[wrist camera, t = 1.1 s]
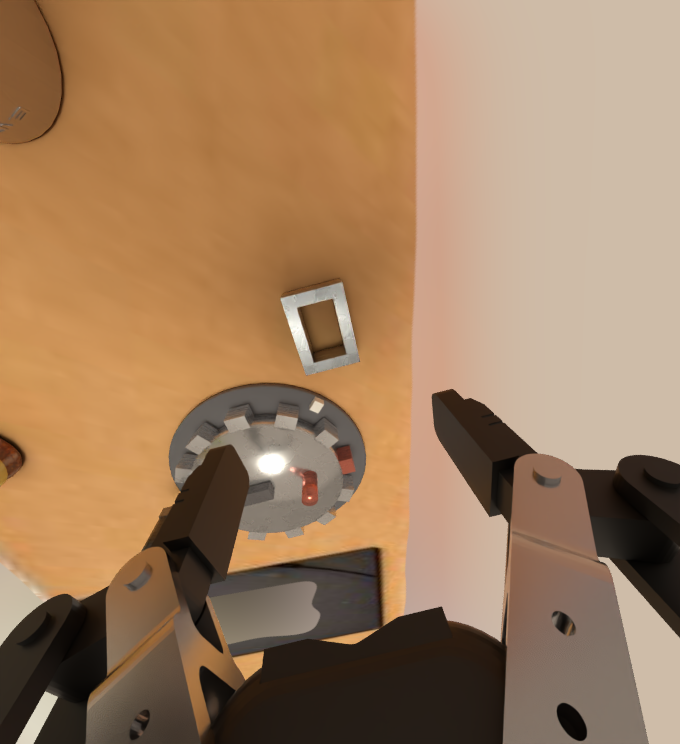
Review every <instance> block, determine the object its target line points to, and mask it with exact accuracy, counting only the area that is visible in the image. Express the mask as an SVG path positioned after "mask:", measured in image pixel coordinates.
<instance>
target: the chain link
mask: <svg viewBox="0 0 680 744" xmlns="http://www.w3.org/2000/svg"><path fill="white" fill-rule="evenodd" d="M328 299H332V300H333V304H334V308H335V312H336V316H337V320H338V324H339V328H340V332H341V336H342V340H343V344H344V345H340V346H336V347H332V348H328V349H325V350H321V351H317V352H313V349H312V346H311V343H310V339H309V336H308V333H307V330H306V326H305V323H304V320H303V317H302V313H301V310H300V307H302V306H305V305H309V304H313V303H317V302H321V301H324V300H328ZM280 300H281V302H282V305H283V308H284V311H285V314H286V317H287V320H288V323H289V326H290V329H291V332H292V335H293V338H294V341H295V344H296V347H297V350H298V353H299V356H300V359H301V362H302V365H303V368H304V371H305V374H306V375H310V374H314V373H318V372H322V371H326V370H329V369H333V368H337V367H341V366H345V365H349V364H353V363H356V362H360V359H359V355H358V350H357V346H356V341H355V337H354V332H353V328H352V323H351V319H350V314H349V310H348V305H347V301H346V296H345V292H344V287H343V283H342V281H341V280H340V279H339V278H338V279H335V280H331V281H327V282H323V283H319V284H316V285H312V286H308V287H304V288H300V289H297V290H293V291H289V292H285V293H283V294H282V296H281V298H280Z"/></svg>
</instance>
